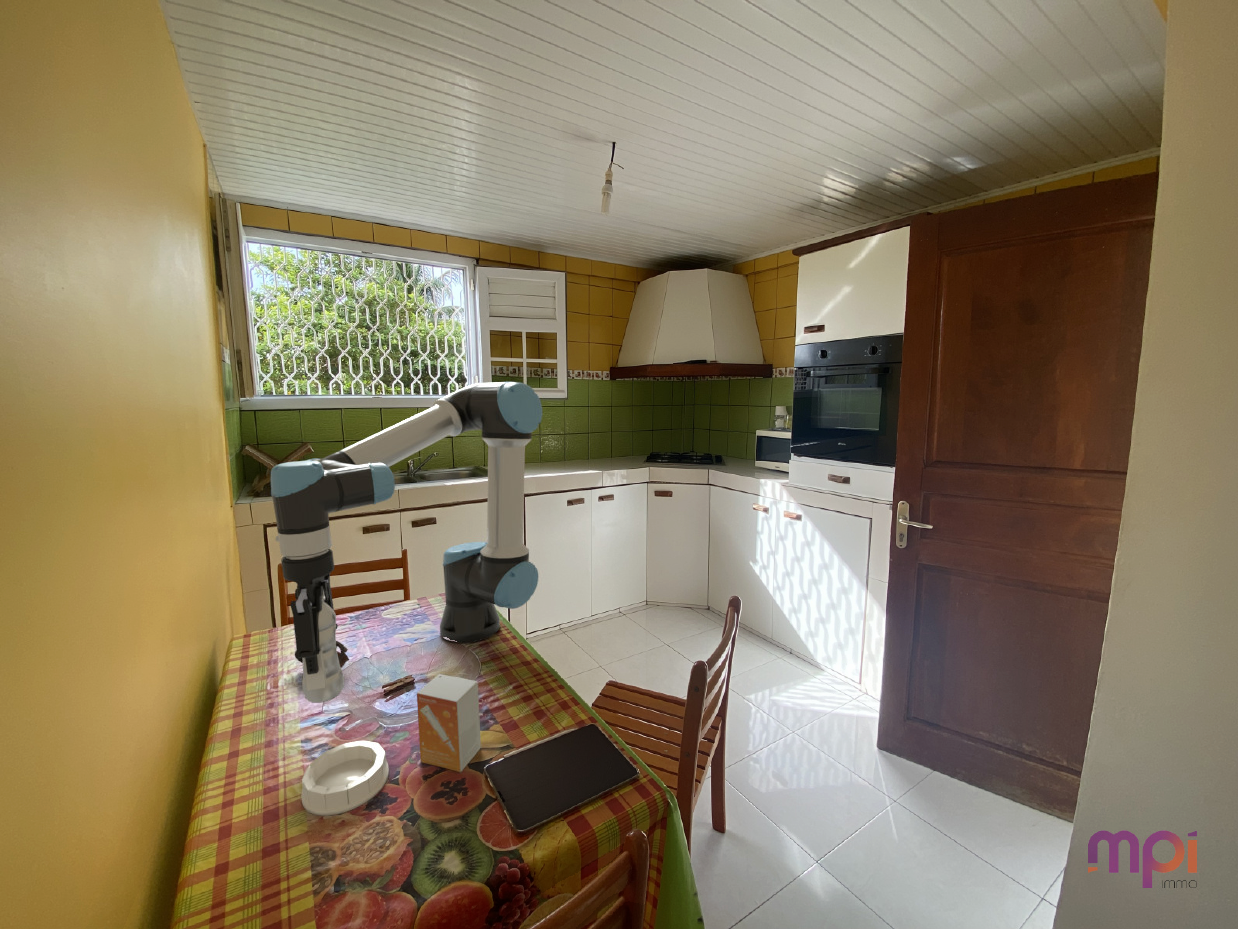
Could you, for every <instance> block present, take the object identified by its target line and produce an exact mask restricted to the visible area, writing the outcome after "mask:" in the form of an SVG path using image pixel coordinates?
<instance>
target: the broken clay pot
mask: <svg viewBox="0 0 1238 929" xmlns="http://www.w3.org/2000/svg"><path fill="white" fill-rule="evenodd" d="M338 648H339V650H340V651H337V650H336V651H337V655H338V659H339V664H340V667H341V669H342V668H343V666H344V665H345V664H346V662H348V661H350V659H349V657H348V655H347V654H346V653H347V652H348V650H349V649H348V648H347V647H346V646H345V645H344V644H343V643H341V642H340V641H338V640H336V649H338ZM296 654H297V649H296V650H295V651H294V657H295V659H296V660H297V661H298V662H300V663H301V664H303V659H302V658H299V659H298V658H297V657H296Z"/></svg>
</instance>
